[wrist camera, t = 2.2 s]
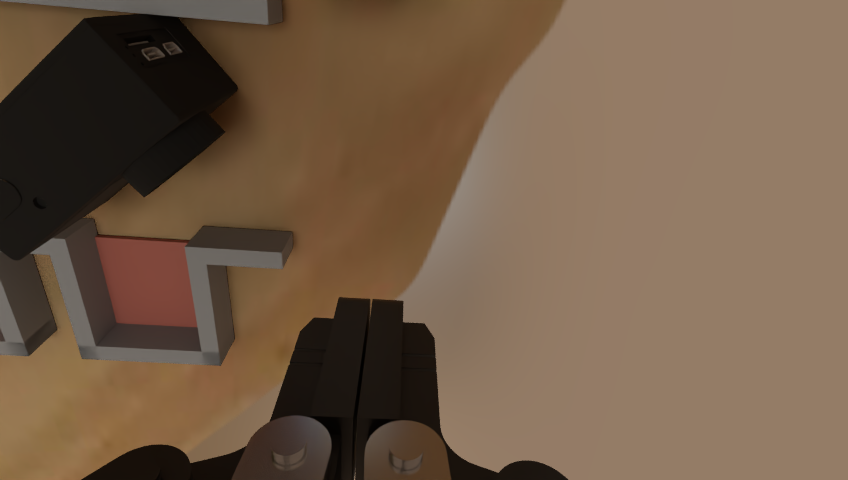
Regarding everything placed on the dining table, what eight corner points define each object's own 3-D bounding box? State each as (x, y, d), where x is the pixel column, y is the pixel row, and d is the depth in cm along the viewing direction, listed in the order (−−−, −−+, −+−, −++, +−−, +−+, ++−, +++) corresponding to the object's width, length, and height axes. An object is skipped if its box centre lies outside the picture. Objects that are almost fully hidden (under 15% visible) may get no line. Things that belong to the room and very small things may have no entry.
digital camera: (123, 217, 27) (37, 284, 21) (37, 140, 25) (-88, 189, 19) (257, 107, 24) (204, 146, 18) (173, 11, 22) (81, 17, 16)
